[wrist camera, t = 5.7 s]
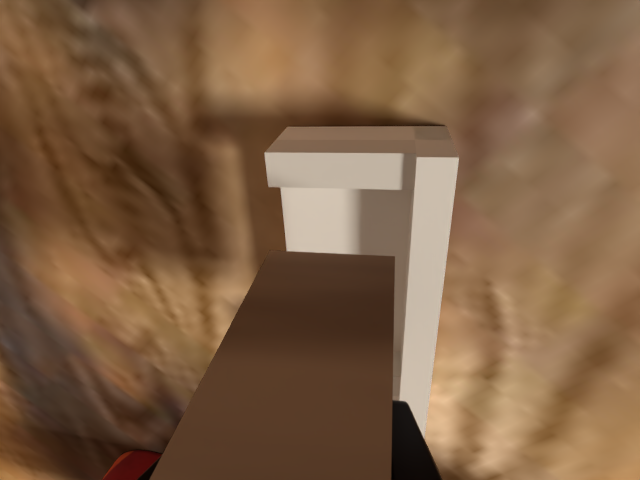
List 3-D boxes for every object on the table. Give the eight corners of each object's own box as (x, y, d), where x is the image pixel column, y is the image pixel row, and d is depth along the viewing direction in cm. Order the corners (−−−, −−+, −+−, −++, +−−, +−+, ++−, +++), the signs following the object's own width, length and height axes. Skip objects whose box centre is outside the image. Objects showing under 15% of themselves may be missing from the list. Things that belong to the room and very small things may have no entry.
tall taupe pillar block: (266, 250, 10) (72, 612, 4) (395, 256, 10) (388, 680, 4) (285, 403, 13) (185, 757, 7) (386, 414, 12) (374, 806, 6)
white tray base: (446, 125, 13) (459, 157, 10) (411, 463, 21) (413, 527, 18) (287, 126, 13) (261, 155, 11) (314, 450, 22) (303, 510, 19)
